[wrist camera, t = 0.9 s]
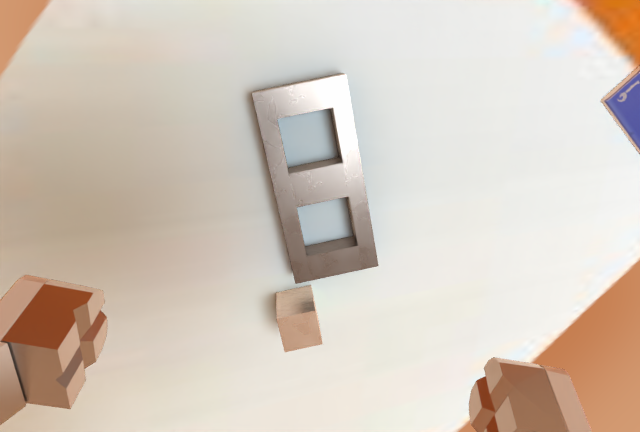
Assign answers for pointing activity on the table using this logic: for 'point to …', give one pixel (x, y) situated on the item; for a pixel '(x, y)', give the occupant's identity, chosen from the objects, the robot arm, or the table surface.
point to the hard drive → (626, 106)
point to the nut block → (297, 318)
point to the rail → (317, 177)
